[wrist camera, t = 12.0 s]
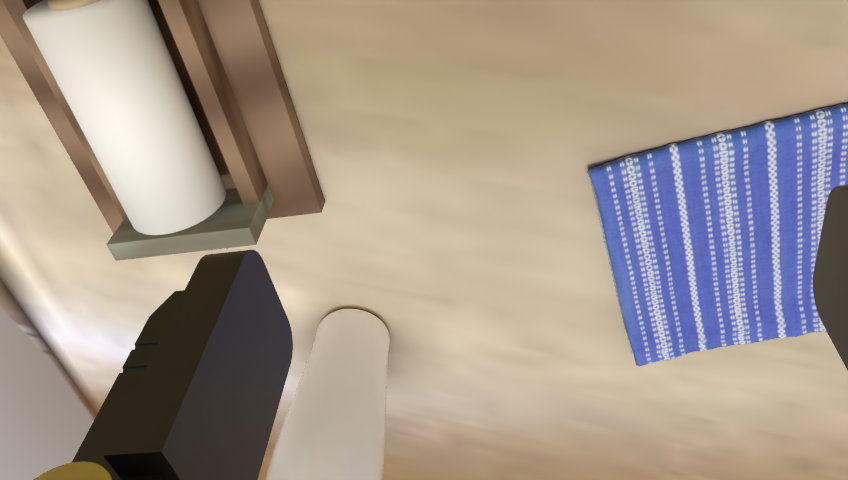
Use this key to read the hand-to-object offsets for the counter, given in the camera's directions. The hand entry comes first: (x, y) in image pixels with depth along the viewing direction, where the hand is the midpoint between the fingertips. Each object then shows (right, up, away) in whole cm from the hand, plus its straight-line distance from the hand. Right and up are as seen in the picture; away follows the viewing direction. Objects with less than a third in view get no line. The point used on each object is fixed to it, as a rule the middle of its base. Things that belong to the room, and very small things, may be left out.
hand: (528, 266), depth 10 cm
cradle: (-16, +10, +30) cm, 35 cm away
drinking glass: (-7, -6, +41) cm, 42 cm away
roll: (-17, +9, +29) cm, 34 cm away
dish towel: (+22, +1, +34) cm, 40 cm away
